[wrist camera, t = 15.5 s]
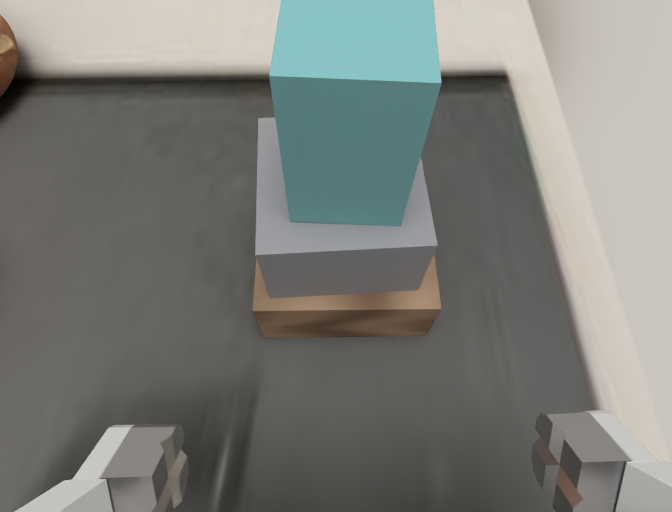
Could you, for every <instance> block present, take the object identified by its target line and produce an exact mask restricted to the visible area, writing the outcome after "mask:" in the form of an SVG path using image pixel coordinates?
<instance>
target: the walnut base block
mask: <svg viewBox="0 0 672 512" xmlns="http://www.w3.org/2000/svg"><path fill="white" fill-rule="evenodd" d="M421 162H422V160H421ZM422 167H423V164H422ZM423 172H424V171H423ZM252 311H253V313H254V316H255V318H256V320H257V322H258V324H259V326H260V329H261V331H262V333H263V335H264V337H265V338H286V337H374V336H425V335H426V333H427V332H428V330H429V328H430V327H431V325H432V324H433V322H434V320H435V319H436V317H437V315H438V314H439V312H440V311H441V301H440V294H439V286H438V278H437V271H436V263H435V255H433V257H432V260H431V262H430V264H429V267H428V269H427V271H426V273H425V276H424V278H423V280H422V282H421V285H420V287H419V289H418V290H411V291H394V292H376V293H358V294H340V295H322V296H304V297H286V298H269V295H268V292H267V289H266V286H265V283H264V280H263V277H262V274H261V271H260V268H259V265H258V262H257V259H256V271H255V284H254V297H253V310H252Z"/></svg>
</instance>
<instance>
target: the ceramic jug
mask: <svg viewBox="0 0 672 512" xmlns="http://www.w3.org/2000/svg"><path fill="white" fill-rule="evenodd" d="M18 61H19V55H18V48H17V43H16V40H15V37H14V34H13V32H12V30H11V28H10V26H9V25H8V23H7V22H6V21H5V19H4V18H3V17H2V16H1V15H0V97H1V96H2V95H3V93H4V92H5V91H6V89H7V88H8V87H9V85H10V84H11V82H12V80H13V78H14V75H15V72H16V69H17V66H18Z"/></svg>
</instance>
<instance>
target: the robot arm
mask: <svg viewBox="0 0 672 512" xmlns="http://www.w3.org/2000/svg"><path fill="white" fill-rule="evenodd" d="M535 429H536V430H537V432H538V433H539V435H540V436H541V437H540V438H539V439H538V440H537V441H536V442H535V443H534V444H533V449H532V463H533V470H534V473H535V475H536V478H537V480H538V482H539V484H540V486H541V487H542V489H543V490H544V491H546V492H547V493H549V494H550V495H552V496H553V497H554V500H553V508H554V510H555V511H556V512H672V463H670V462H668V461H658V460H657V459H656V458H655V457H654V456H653V455H652V454H651V452H650V451H649V450H648V449H647V448H646V447H645V446H644V445H643V444H642V443H641V442H640V441H639V440H638V439H637V438H636V437H635V436H634V435H633V434H632V433H631V432H630V431H629V430H628V429H627V428H626V427H625V426H624V425H623V424H622V423H621V422H620V421H619V420H618V419H617V418H616V417H615V416H614V415H613V414H612V413H611V412H609V411H607V410H596V411H583V412H568V413H540V414H539V416H538V418H537V421H536V427H535ZM184 440H185V438H184V433H183V427H182V426H181V425H180V424H136V425H113V426H111V427H109V428H108V429H107V430H106V432H105V433H104V435H103V436H102V438H101V439H100V440H99V442H98V443H97V445H96V446H95V448H94V449H93V450H92V452H91V453H90V455H89V456H88V458H87V459H86V460H85V462H84V463H83V465H82V466H81V468H80V469H79V470H78V472H77V473H76V475H75V476H74V478H73V479H72V480H64V481H63V482H61V483H60V484H58V485H56V486H55V487H53V488H52V489H50V490H48V491H47V492H45V493H44V494H42V495H41V496H39V497H37V498H36V499H34V500H33V501H31V502H29V503H28V504H26V505H25V506H23V507H21V508H20V509H18V510H17V511H15V512H174V508H175V507H176V506H177V505H178V504H180V503H181V502H182V500H183V497H184V494H185V491H186V486H187V480H188V459H187V455H186V454H185V453H184V452H183V451H182V450H181V447H182V445H183V442H184Z"/></svg>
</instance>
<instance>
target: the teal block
mask: <svg viewBox="0 0 672 512" xmlns="http://www.w3.org/2000/svg"><path fill="white" fill-rule="evenodd" d="M269 77H270V84H271V91H272V99H273V106H274V113H275V120H276V127H277V134H278V141H279V148H280V155H281V163H282V170H283V177H284V184H285V191H286V198H287V205H288V212H289V219H290V222H310V223H333V224H356V225H379V226H401V223H402V220H403V216H404V213H405V209H406V206H407V202H408V199H409V195H410V192H411V188H412V185H413V181H414V178H415V174H416V171H417V167H418V164H419V160H420V157H421V153H422V150H423V146H424V142H425V139H426V135H427V132H428V128H429V125H430V121H431V118H432V114H433V111H434V107H435V104H436V100H437V97H438V93H439V90H440V86H441V74H440V64H439V54H438V44H437V34H436V24H435V14H434V4H433V0H281V4H280V11H279V17H278V23H277V30H276V36H275V43H274V49H273V55H272V62H271V68H270V75H269Z"/></svg>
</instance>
